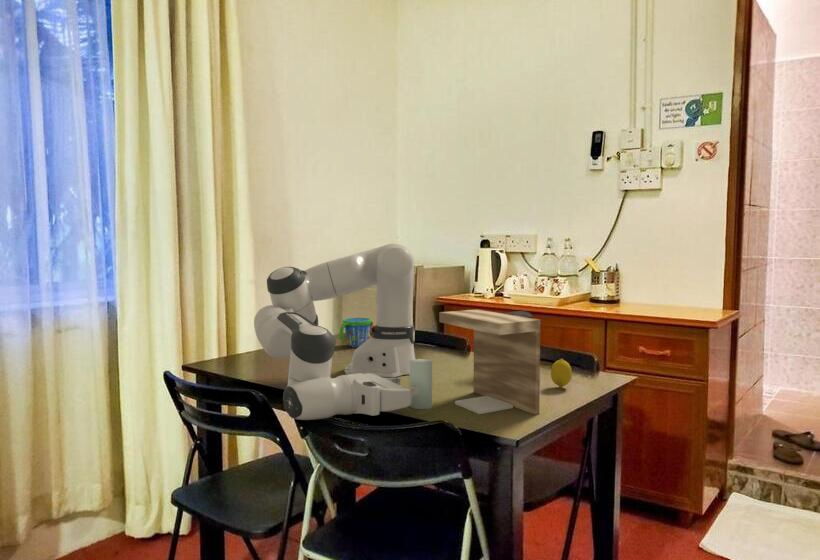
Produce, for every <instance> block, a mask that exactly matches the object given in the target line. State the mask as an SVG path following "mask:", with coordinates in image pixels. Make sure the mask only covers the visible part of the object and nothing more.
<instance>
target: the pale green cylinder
mask: <svg viewBox="0 0 820 560" xmlns="http://www.w3.org/2000/svg"><path fill="white" fill-rule="evenodd" d="M408 375H409V376H408V377H409V388H411V386H418V387H420V394H419V395H414V396H413V397H412V403H411V405H409V408H411V409H413V410H414V409H415V410H428V409H431V408H432V407H433V361H432V360H430V359H424V358H422V359H421V358H417V359H416V358H415V360H411V361H409V374H408Z"/></svg>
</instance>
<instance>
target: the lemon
mask: <svg viewBox="0 0 820 560" xmlns="http://www.w3.org/2000/svg"><path fill="white" fill-rule="evenodd" d="M572 375H573V372H572V367H571V365H570V363H569V362H567V361H566V360H564V359H563V358H559V360H556V361H555V362H554V363H552V366H551V370H550V378H551V381H552V382H553V383H554V384H555V385H556V386H558V388H561V389H562V388H564V387H565V386H568V384H569V383H570V382H571V380H572V377H573V376H572Z"/></svg>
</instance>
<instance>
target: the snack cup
mask: <svg viewBox="0 0 820 560" xmlns="http://www.w3.org/2000/svg"><path fill="white" fill-rule="evenodd" d="M373 324H374V322H373V320H372V319H371V318H369V317H347V318H345V319H343V321H342V323H341V326H340V327H339V335H338V337H339V340H342V341H344V340H345V338H346V344H347V346H348V347H350V346H353V347H352V348H358V347H359V346H360V345H362V344H363V343H364V342H365V341H367V340H368V339H369V338H370V327H371V326H372V325H373ZM344 330H345V334H344Z"/></svg>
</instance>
